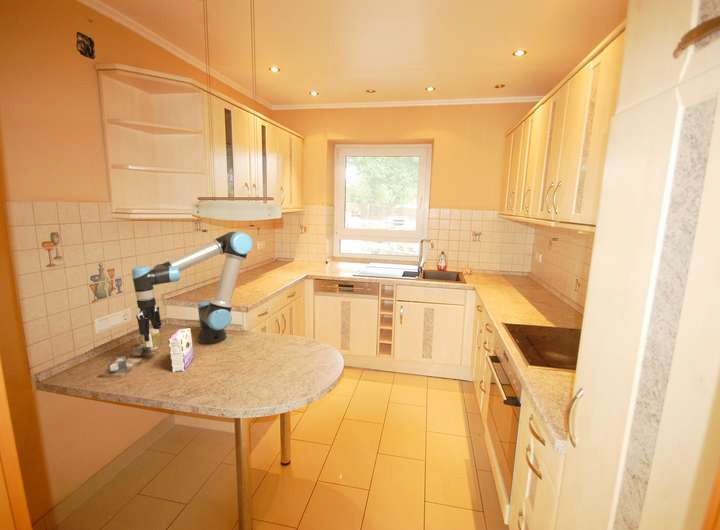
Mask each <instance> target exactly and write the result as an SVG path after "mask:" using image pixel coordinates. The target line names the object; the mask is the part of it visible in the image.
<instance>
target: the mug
mask: <svg viewBox="0 0 720 530" xmlns="http://www.w3.org/2000/svg"><path fill="white" fill-rule="evenodd" d="M152 330H153V328H149V334H150V333H153V332H152ZM140 337H141V339H142V340H143V338H142V337H144V335H140V333H139V334H137V336H136V342H137V344H138V345H139V346H141V345H143V342H141V341H140ZM159 347H160V346H159V345H158V346H157V347H150V348H151V351H155V350H157V349H159Z"/></svg>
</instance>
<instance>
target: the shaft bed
mask: <svg viewBox="0 0 720 530" xmlns="http://www.w3.org/2000/svg"><path fill="white" fill-rule="evenodd" d="M142 344H143V343H142ZM131 349H132V354H131V355H130V356H128V357H127V358H126V356H125V355H124V356H117V357H115V361H111V362H110V363H109V364H108V365H107V368H108V369H106V370H104V371H103V372H100V374H99V373H98V375H97V377H98V378H122V377H124V376H125V375H127V374H128V373H130V372H131V371H133V370H134V369H136V368H138V367H139V366H141V365H142V364H144V363H146V362H147V361H148V360H150V359H151V358H153V357H155V356H156V355H157V354H159V352H158V351H155V350H151V348H150V347H144V344H143V345H138V346H136V347H132V348H131Z"/></svg>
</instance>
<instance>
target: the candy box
mask: <svg viewBox="0 0 720 530" xmlns="http://www.w3.org/2000/svg"><path fill="white" fill-rule="evenodd" d="M191 330H192V329H191V328H189V327H188V328H179V329H177V331H175V332H174V333H173V335H171V336H170V338H169V339H168V346H169V354H170V362H171V363H170V364H171V371H172V373H178V372H185V371H187V369H188V368H189V366H190V365H191V363H192V362H193V360H194V359H195V356H194V355H195V354H194V353H195V352H194V347H193V346H194V345H193V338H192V331H191Z"/></svg>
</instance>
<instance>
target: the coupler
mask: <svg viewBox="0 0 720 530" xmlns="http://www.w3.org/2000/svg"><path fill="white" fill-rule="evenodd" d="M150 334H151V339H152V345H153V346H152V347H157V346H158V345H162V344H163V340H162V339H163V338H162V333H160V332H159V333H150ZM142 338H143V339H142ZM141 339H142V344H144V347H146V341H145V338H144V337H142V336H141Z"/></svg>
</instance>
